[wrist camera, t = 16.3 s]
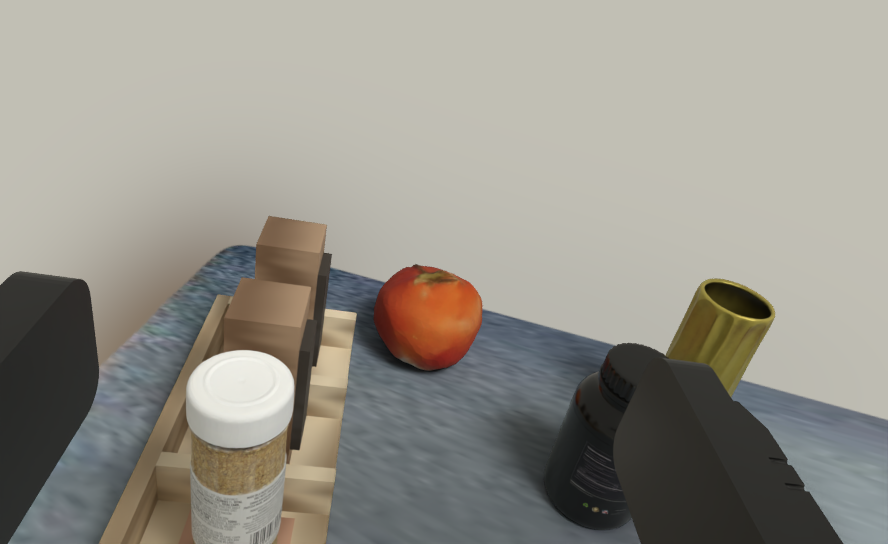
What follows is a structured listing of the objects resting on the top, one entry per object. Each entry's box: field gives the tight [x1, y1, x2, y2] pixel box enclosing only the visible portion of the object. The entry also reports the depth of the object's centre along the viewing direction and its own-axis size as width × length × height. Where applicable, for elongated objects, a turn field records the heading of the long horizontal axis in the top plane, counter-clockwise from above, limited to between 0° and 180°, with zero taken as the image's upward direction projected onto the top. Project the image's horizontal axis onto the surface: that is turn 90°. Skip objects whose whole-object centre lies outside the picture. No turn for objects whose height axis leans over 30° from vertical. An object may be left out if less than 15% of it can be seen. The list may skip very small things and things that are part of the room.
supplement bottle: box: [544, 343, 669, 530], centre depth 42 cm, size 7×7×12 cm
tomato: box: [374, 264, 482, 371], centre depth 53 cm, size 9×9×8 cm
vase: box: [666, 279, 775, 397], centre depth 47 cm, size 6×6×14 cm
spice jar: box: [186, 350, 294, 544], centre depth 31 cm, size 5×5×13 cm
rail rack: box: [99, 216, 357, 544], centre depth 38 cm, size 11×25×13 cm, turn 3°
